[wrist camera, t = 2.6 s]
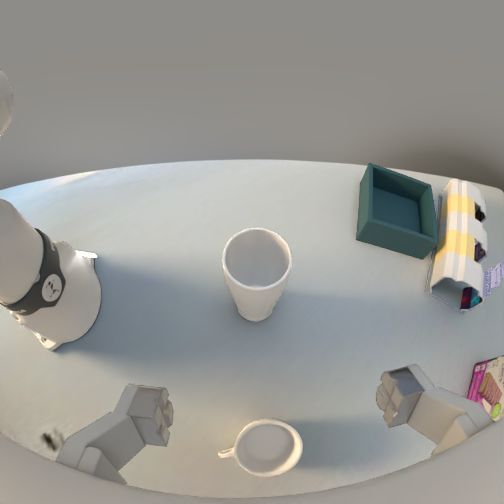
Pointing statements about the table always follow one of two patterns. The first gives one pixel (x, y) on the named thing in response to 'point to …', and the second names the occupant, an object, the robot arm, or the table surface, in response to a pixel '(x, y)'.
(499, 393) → the candy bar box
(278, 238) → the drinking glass
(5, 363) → the table surface
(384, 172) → the bin
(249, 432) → the teacup
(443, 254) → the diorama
